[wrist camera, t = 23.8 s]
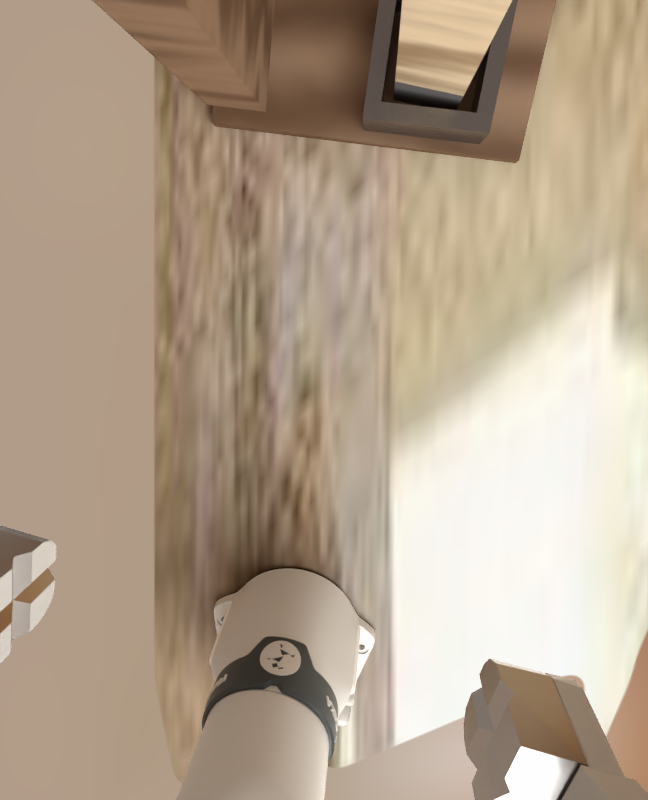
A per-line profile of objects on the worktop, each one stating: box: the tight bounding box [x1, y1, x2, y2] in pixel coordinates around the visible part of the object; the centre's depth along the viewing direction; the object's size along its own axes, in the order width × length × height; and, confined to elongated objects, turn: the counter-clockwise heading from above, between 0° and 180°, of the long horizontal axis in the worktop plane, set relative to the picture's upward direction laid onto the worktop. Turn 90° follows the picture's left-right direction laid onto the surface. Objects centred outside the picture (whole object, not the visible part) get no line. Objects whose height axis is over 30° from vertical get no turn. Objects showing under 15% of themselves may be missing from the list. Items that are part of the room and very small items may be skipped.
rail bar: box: [393, 0, 512, 110], centre depth 28 cm, size 5×5×18 cm
